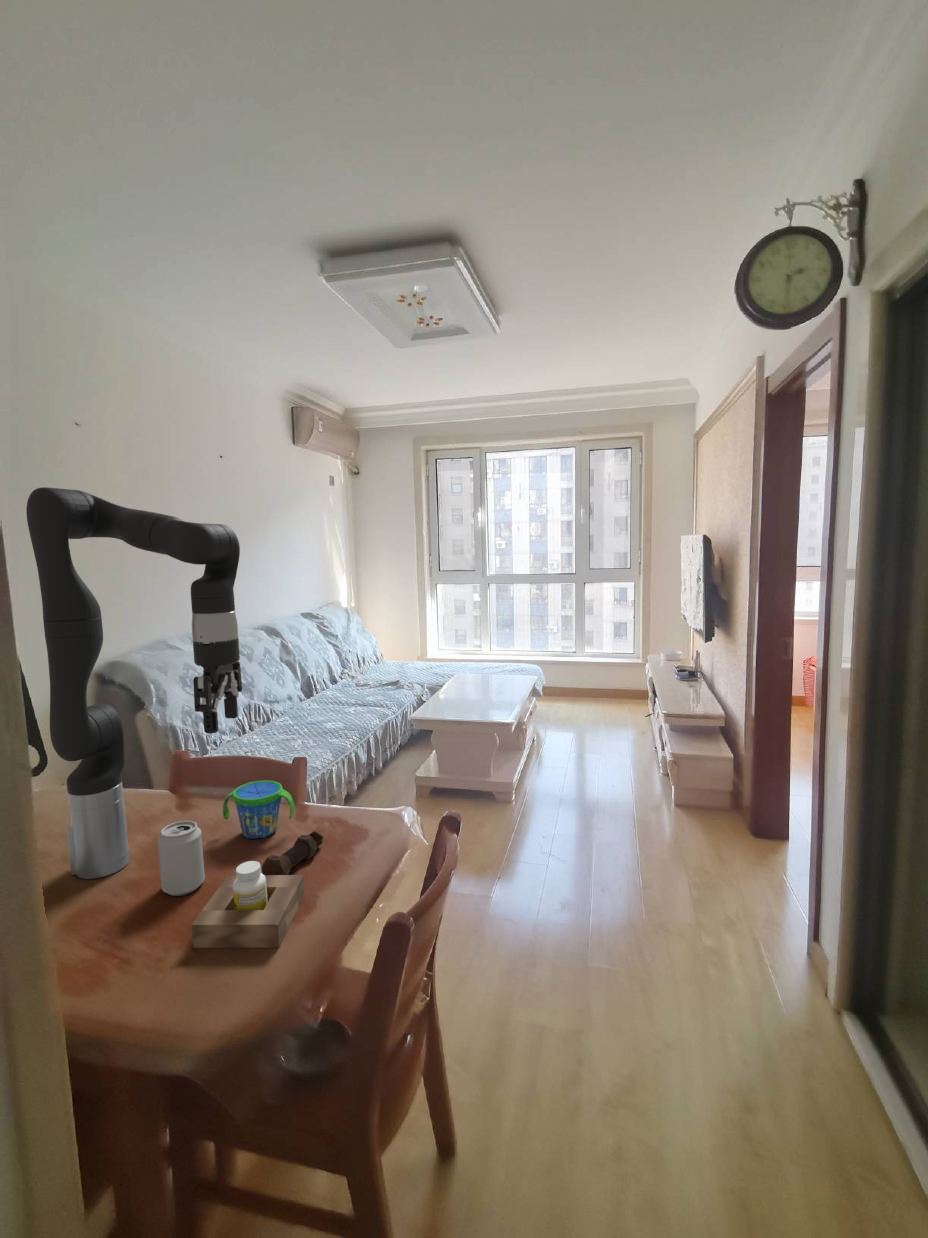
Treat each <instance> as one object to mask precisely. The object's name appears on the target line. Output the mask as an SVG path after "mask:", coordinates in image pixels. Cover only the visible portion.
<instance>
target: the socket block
mask: <svg viewBox="0 0 928 1238" xmlns="http://www.w3.org/2000/svg"><path fill="white" fill-rule="evenodd" d="M264 876H265V878H266V886H267V898H268V903H267V905H266V906H265V908H264V910H235V907H234V895H233V883H234V881H235V880H236V879H237V878H236V874H235V875H233V874H232V875H231V874H230V875H227V876H226V877H225V879H224V880H223V881H222V883H221V884H220V885H219V887H218V888H217V889H216V891H215V893H214V894H213V895H212V896H211V898H210V899H209V901H208V902H207V903H206V905H205V906H204V907H203V908H202V910H201V911H200V913H199V914H198V915H197V917H196V918H195V919H194V921H193V922H192V923H191V924H190V925H191V935H192V936H191V937H192V948H193V949H208V948H209V949H213V948H214V949H216V948H217V949H222V948H223V949H225V948H226V949H228V948H229V949H231V948H232V949H234V948H237V949H238V948H240V949H243V948H248V949H250V948H251V949H253V948H254V949H255V948H256V949H257V948H259V949H260V948H269V949H270V948H274V949H275V948H277V949H278V948H280V947H281V945H282V943H283V942H284V939H285V937H286V935H287V932H288V931H289V928H290V926H291V924H292V922H293V920H294V918H295V916H296V913H297V912H298V910H299V908H300V904H302V901H303V899H304V897H305V882H304V881H305V880H304V875H302V874H289V875H264Z"/></svg>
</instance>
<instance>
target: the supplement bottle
mask: <svg viewBox="0 0 928 1238" xmlns="http://www.w3.org/2000/svg"><path fill="white" fill-rule="evenodd" d="M235 875H236V878H237V879H236V880H235V881H234V883H233V895H234V907H235V910H264V908H265V906H266V905H267V903H268V898H267V886H266V878H265V876H264V875H263V873H262V866H261V863H260V862H259V861H257V860H249V861H244V862H242V863H240V864H239V865H238V866H237V867H236V869H235Z"/></svg>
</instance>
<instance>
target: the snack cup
mask: <svg viewBox="0 0 928 1238" xmlns="http://www.w3.org/2000/svg"><path fill="white" fill-rule="evenodd" d="M231 797H232V799H233V802H234V804H235V807H236V811H237V816H238V817H237V818H238V821H239V825H240V829H241V833H242V835H243V836H244V837H245V838H246V839H258V838H262V839H265V838H266V837H268V836H271V835H272V834H274V833H275V832H276V831H277V829H278V824H279V818H280V817H279V815H280V807H281V801H282V797H283V798H284V799H285V800H286V803H288V804H289V806H290V807H289V817H288V819H289V820H292V818H293V816H294V812H295V803H294V799H293V797H292V795H291V794H290V793H289V792H288V791H287V790H285V789H284V788H283V785H282V784H281V783H280V782H277V781H275V780H256V781H255V780H254V781H250V782H246V783H245V784H242V785H239V786H238V787H236V788H235V789H234V790H233V791H231V792H230V793H229V794H228V795H227V796H226V797H225V799H224V801H223V805H222V816H223V819H224V820H227V819H229V818H230V815H231V813H230V812H231V811H230V809H229V805H228V804H229V800H230V798H231Z"/></svg>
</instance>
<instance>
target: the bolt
mask: <svg viewBox="0 0 928 1238" xmlns="http://www.w3.org/2000/svg"><path fill="white" fill-rule="evenodd" d="M323 837H324V836H323V835H322V834H320V833H319V832H317V831H314V830H313V831H312V832H310V833H309V834H301V835H299V836H298V837H297V839H296V841H294V844H293V846H291V847H290V848H289V849H287V851H285V852H284V853H282V854H281V855H275V854H270V855H269V856H267V857H266V859H265V860H264V862H263V864H262V866H261V873H262V874H263V875H290V872H291V869H292V868H294V867H295V866H296V865H298V863H300V862H301V861H302V860H304V859H305V860H309V859H311V858H312V857H313V856H314V855H315V853H316V852H317V849H318V847H320V846H321V845H322V844H323V840H324V838H323Z"/></svg>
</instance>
